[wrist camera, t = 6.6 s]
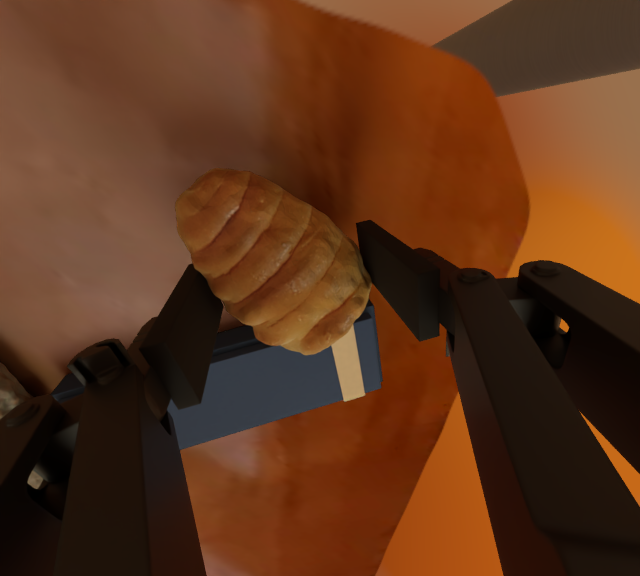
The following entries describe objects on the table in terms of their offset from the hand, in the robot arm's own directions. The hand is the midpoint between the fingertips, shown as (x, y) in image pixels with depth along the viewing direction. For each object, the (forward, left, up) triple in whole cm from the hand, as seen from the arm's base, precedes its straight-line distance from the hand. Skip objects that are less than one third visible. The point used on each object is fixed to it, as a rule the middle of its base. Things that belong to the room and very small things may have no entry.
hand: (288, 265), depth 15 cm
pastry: (0, 0, -1) cm, 1 cm away
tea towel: (+5, +8, -3) cm, 10 cm away
